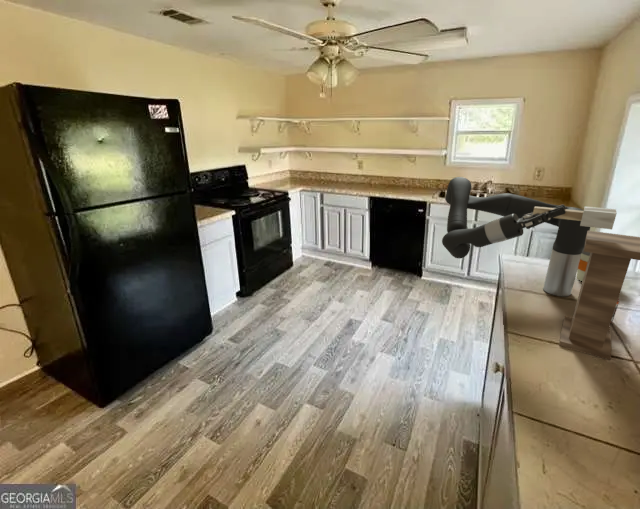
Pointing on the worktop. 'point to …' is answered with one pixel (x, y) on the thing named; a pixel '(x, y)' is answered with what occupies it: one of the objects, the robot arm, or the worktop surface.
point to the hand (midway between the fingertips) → (564, 208)
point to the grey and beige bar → (587, 216)
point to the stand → (599, 292)
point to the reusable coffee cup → (582, 265)
